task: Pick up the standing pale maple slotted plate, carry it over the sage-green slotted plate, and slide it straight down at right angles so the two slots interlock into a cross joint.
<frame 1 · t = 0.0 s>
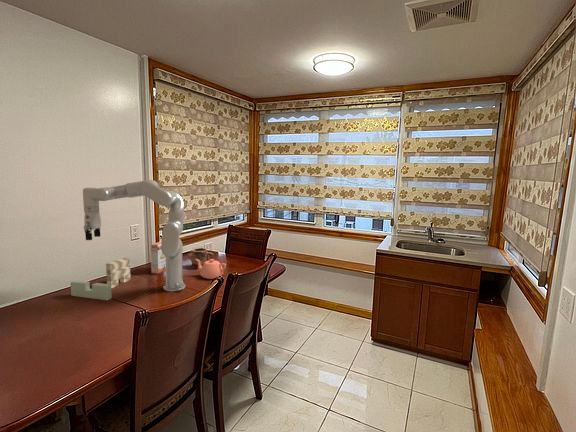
hand: (93, 238, 176), 31 cm above the table, tool pointing down, fingers open, 9 cm apart
maple plate: (119, 283, 191), on the table
teapot: (210, 276, 209), on the table
slotted base: (91, 296, 170), on the table
cracker box: (160, 271, 218), on the table
decorative planter: (201, 267, 229), on the table
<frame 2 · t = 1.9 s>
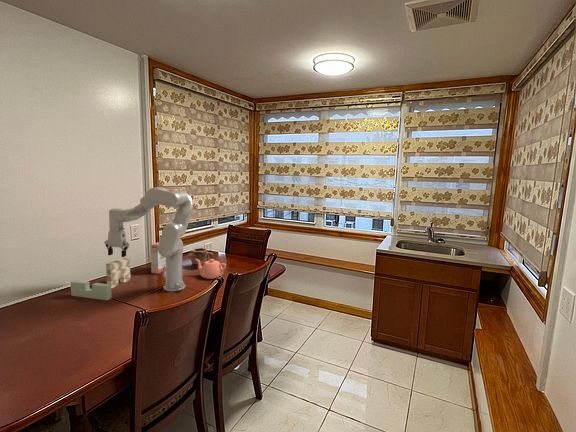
hand: (117, 255, 188), 18 cm above the table, tool pointing down, fingers open, 9 cm apart
nothing on the table moved.
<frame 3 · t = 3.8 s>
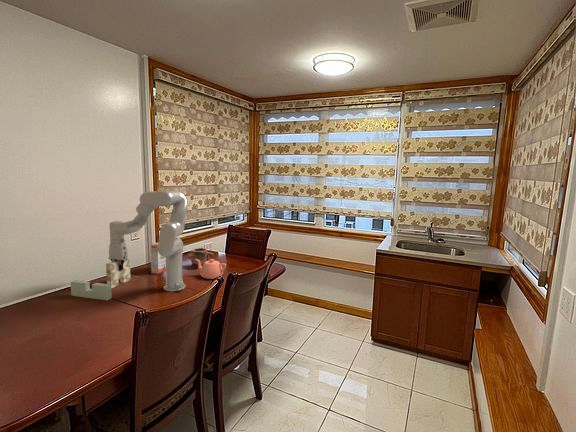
hand: (118, 269, 190), 9 cm above the table, tool pointing down, fingers closed on maple plate, 3 cm apart
maple plate: (119, 283, 191), on the table, touching gripper
everything else where it was.
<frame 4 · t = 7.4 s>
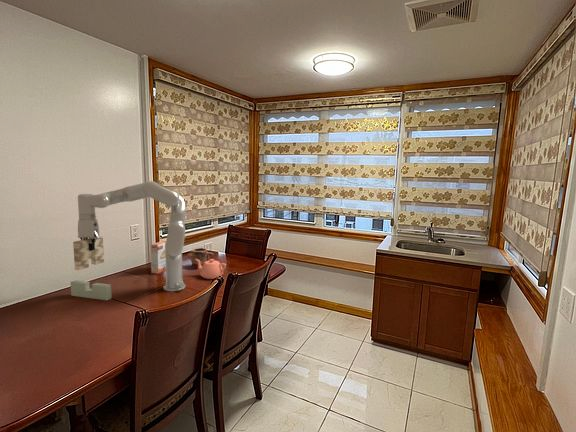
hand: (89, 249, 167), 27 cm above the table, tool pointing down, fingers closed on maple plate, 3 cm apart
maple plate: (90, 265, 168), point 18 cm above the table, touching gripper
everything else where it was.
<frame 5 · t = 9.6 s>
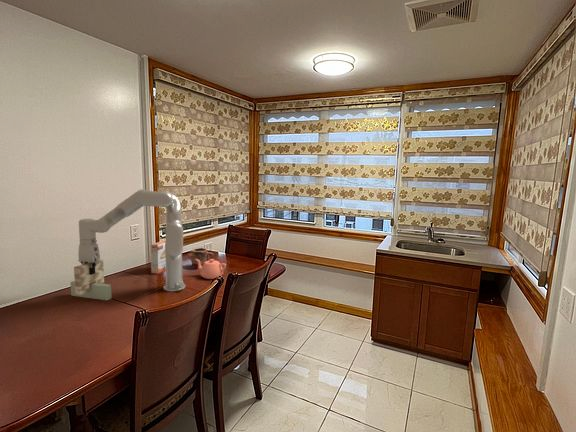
hand: (89, 273, 168), 14 cm above the table, tool pointing down, fingers closed on maple plate, 3 cm apart
maple plate: (90, 289, 169), point 5 cm above the table, touching gripper
everything else where it was.
when the fingers open (10 cm above the table, at t = 11.3 s): maple plate drops 1 cm, on the table.
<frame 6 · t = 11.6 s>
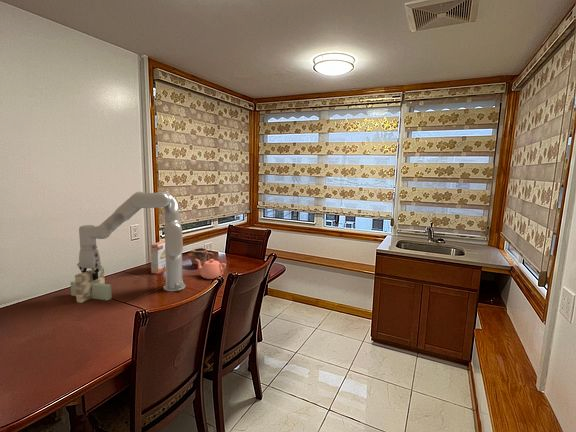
hand: (90, 278, 168), 11 cm above the table, tool pointing down, fingers open, 6 cm apart
maple plate: (91, 296, 170), on the table
everything else where it was.
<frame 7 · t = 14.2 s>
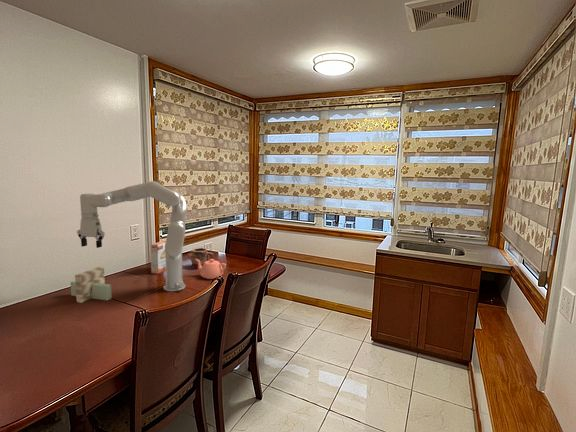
hand: (91, 246, 168), 28 cm above the table, tool pointing down, fingers open, 9 cm apart
nothing on the table moved.
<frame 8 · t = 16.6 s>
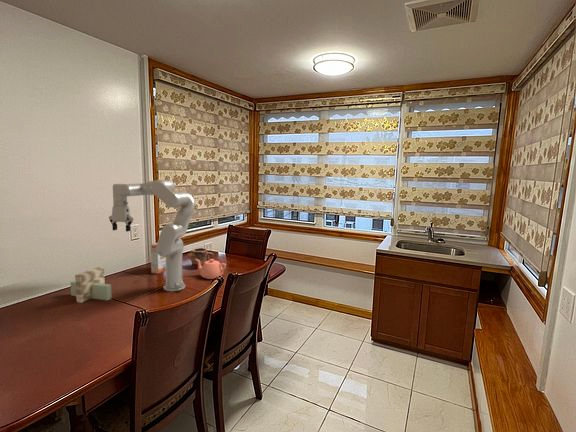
hand: (121, 230, 191), 33 cm above the table, tool pointing down, fingers open, 9 cm apart
nothing on the table moved.
at the end: maple plate 0.2 cm off-centre on the slotted base, point 0.0 cm above the slotted base's base; maple plate tilted 0°; the gripper is holding nothing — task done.
